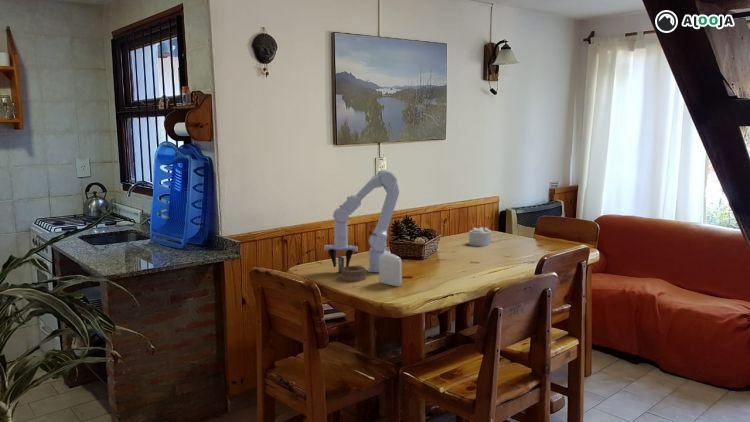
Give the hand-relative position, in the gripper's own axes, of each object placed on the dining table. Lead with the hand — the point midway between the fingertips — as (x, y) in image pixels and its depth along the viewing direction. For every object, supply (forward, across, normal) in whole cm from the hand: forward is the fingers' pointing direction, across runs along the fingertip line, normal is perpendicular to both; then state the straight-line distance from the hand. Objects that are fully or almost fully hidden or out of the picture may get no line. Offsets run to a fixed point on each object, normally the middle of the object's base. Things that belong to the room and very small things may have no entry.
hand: (341, 266), depth 254 cm
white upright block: (+3, +24, -15) cm, 28 cm away
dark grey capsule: (+2, 0, 0) cm, 2 cm away
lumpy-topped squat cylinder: (+3, +60, +74) cm, 95 cm away
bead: (+2, +8, -9) cm, 12 cm away
